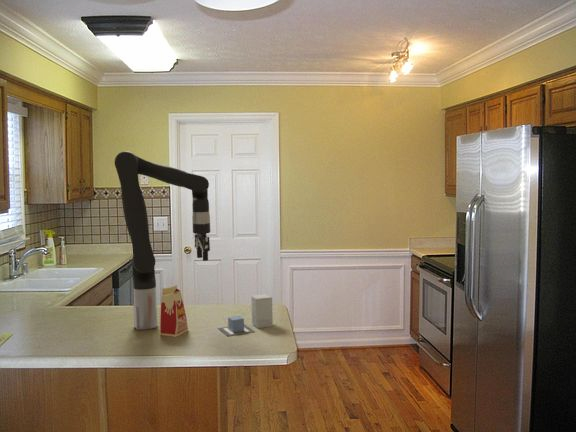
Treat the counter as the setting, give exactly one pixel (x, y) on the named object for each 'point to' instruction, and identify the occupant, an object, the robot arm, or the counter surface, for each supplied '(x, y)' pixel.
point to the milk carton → (172, 313)
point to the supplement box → (262, 311)
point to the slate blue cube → (236, 323)
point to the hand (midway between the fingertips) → (202, 259)
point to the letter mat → (230, 333)
